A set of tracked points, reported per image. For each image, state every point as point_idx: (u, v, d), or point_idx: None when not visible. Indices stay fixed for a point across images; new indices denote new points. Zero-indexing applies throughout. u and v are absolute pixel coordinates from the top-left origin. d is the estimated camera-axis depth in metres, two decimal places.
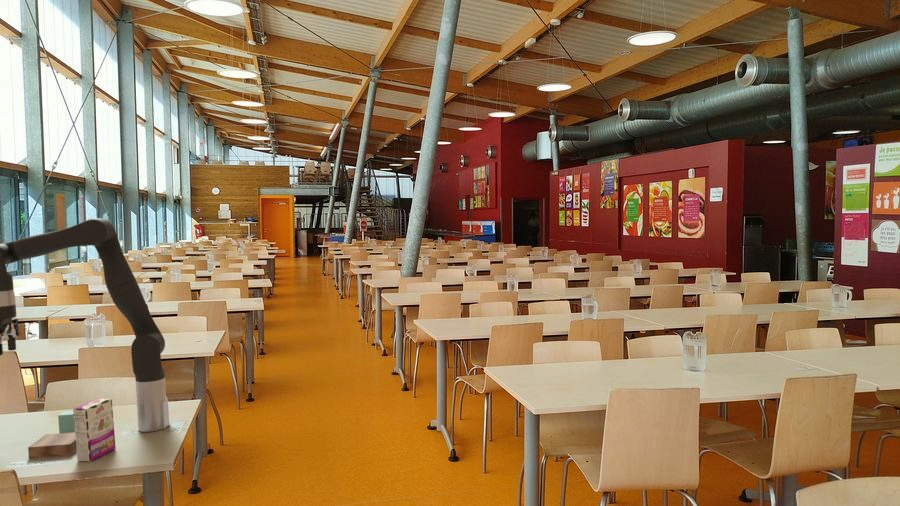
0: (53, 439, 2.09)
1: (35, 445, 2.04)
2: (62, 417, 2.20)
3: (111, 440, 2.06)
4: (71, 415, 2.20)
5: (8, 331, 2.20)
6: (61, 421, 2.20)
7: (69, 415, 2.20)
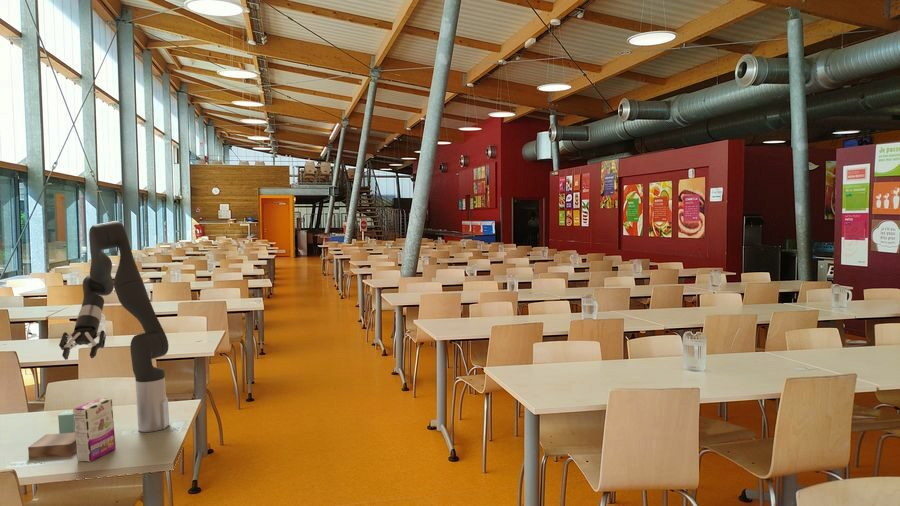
0: (53, 439, 2.09)
1: (35, 445, 2.04)
2: (62, 417, 2.20)
3: (111, 440, 2.06)
4: (71, 415, 2.20)
5: (83, 339, 2.36)
6: (61, 421, 2.20)
7: (69, 415, 2.20)
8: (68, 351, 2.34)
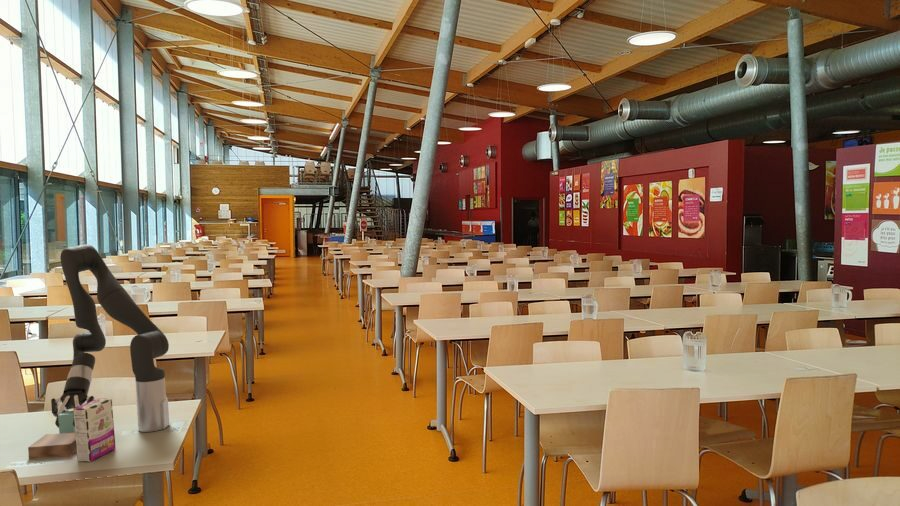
0: (53, 439, 2.09)
1: (35, 445, 2.04)
2: (61, 417, 2.20)
3: (111, 440, 2.06)
4: (71, 415, 2.20)
5: (71, 402, 2.25)
6: (61, 421, 2.20)
7: (69, 415, 2.20)
8: None
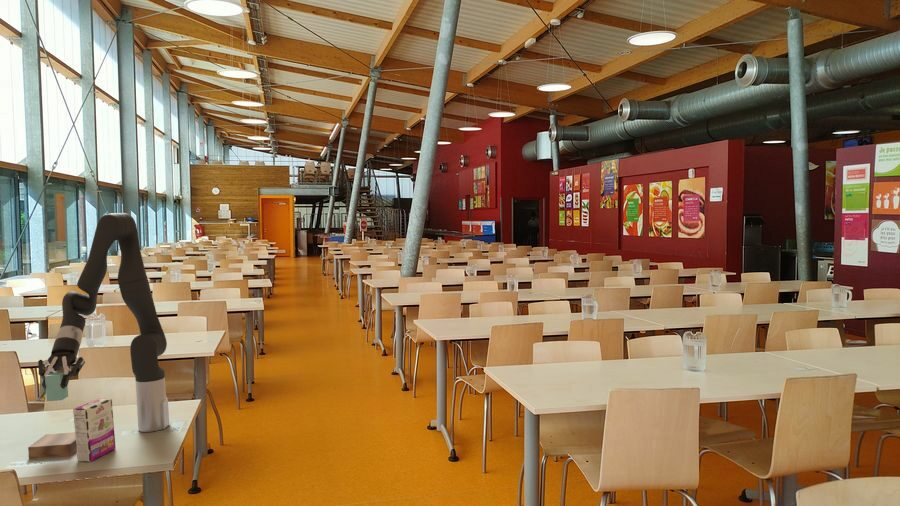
0: (53, 439, 2.09)
1: (35, 445, 2.04)
2: (48, 378, 2.08)
3: (111, 440, 2.06)
4: (58, 376, 2.09)
5: (59, 363, 2.14)
6: (48, 383, 2.08)
7: (56, 376, 2.09)
8: None
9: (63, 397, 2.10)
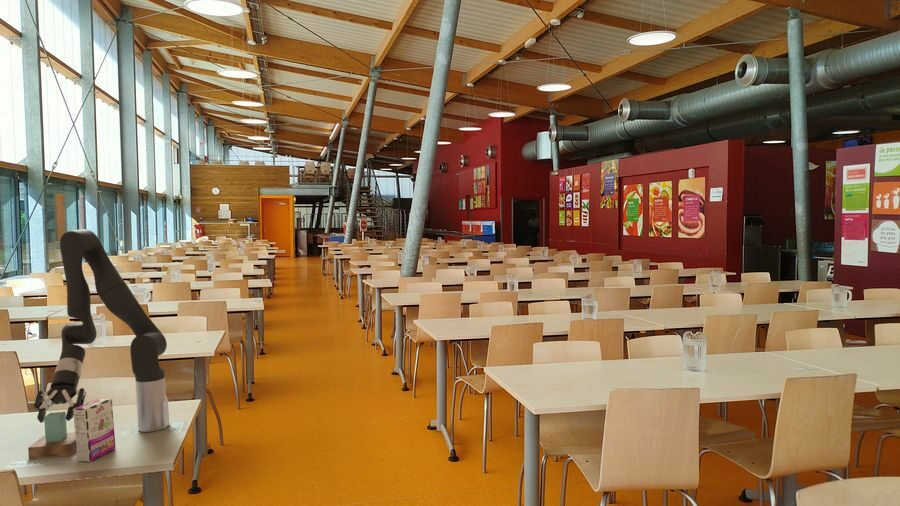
0: None
1: (35, 445, 2.04)
2: (48, 419, 2.06)
3: (111, 440, 2.06)
4: (58, 417, 2.07)
5: (60, 398, 2.11)
6: (47, 424, 2.06)
7: (56, 417, 2.06)
8: (44, 413, 2.09)
9: (62, 438, 2.08)
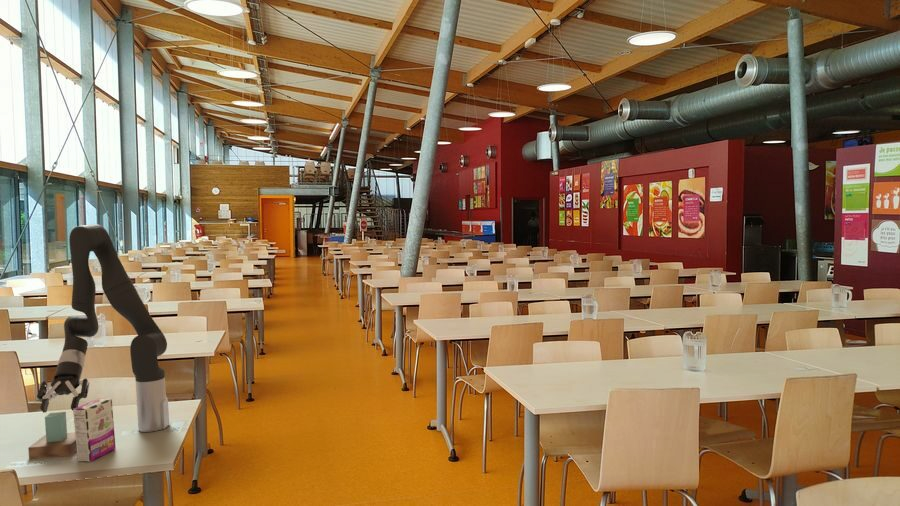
0: None
1: (35, 445, 2.04)
2: (49, 418, 2.06)
3: (111, 440, 2.06)
4: (59, 416, 2.07)
5: (64, 389, 2.14)
6: (48, 423, 2.06)
7: (57, 416, 2.07)
8: (47, 403, 2.11)
9: (63, 438, 2.08)
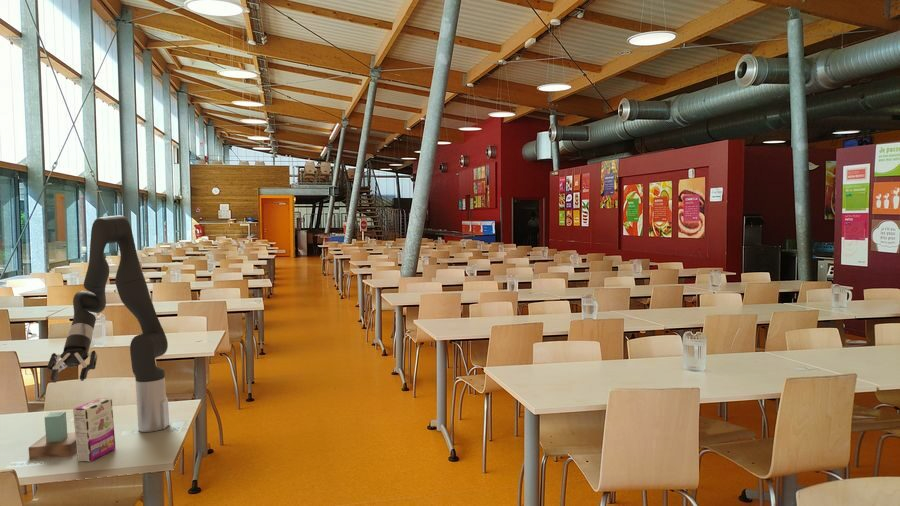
0: None
1: (35, 445, 2.04)
2: (48, 419, 2.06)
3: (111, 440, 2.06)
4: (58, 417, 2.07)
5: (73, 360, 2.22)
6: (47, 424, 2.06)
7: (56, 417, 2.07)
8: (57, 373, 2.19)
9: (63, 438, 2.08)
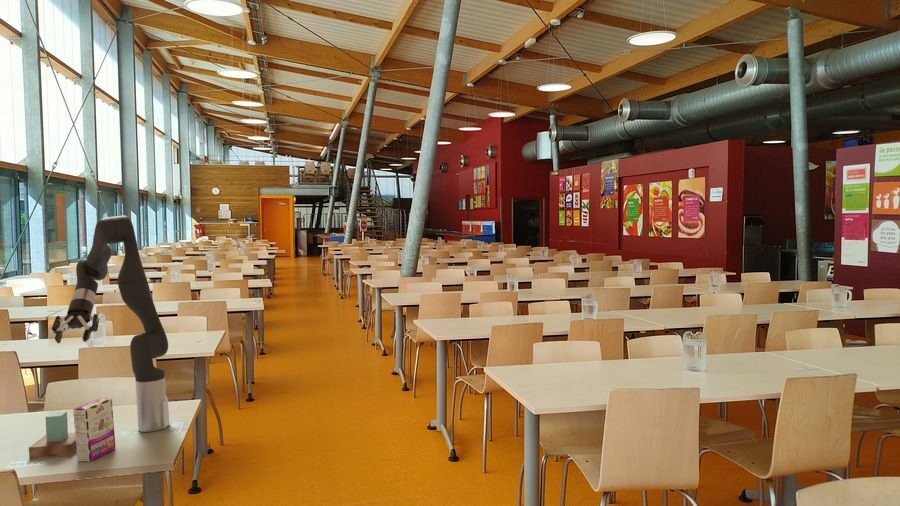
0: None
1: (36, 445, 2.04)
2: (49, 418, 2.06)
3: (111, 440, 2.06)
4: (59, 417, 2.07)
5: (76, 322, 2.33)
6: (48, 423, 2.06)
7: (57, 417, 2.07)
8: (61, 335, 2.31)
9: (63, 438, 2.08)
